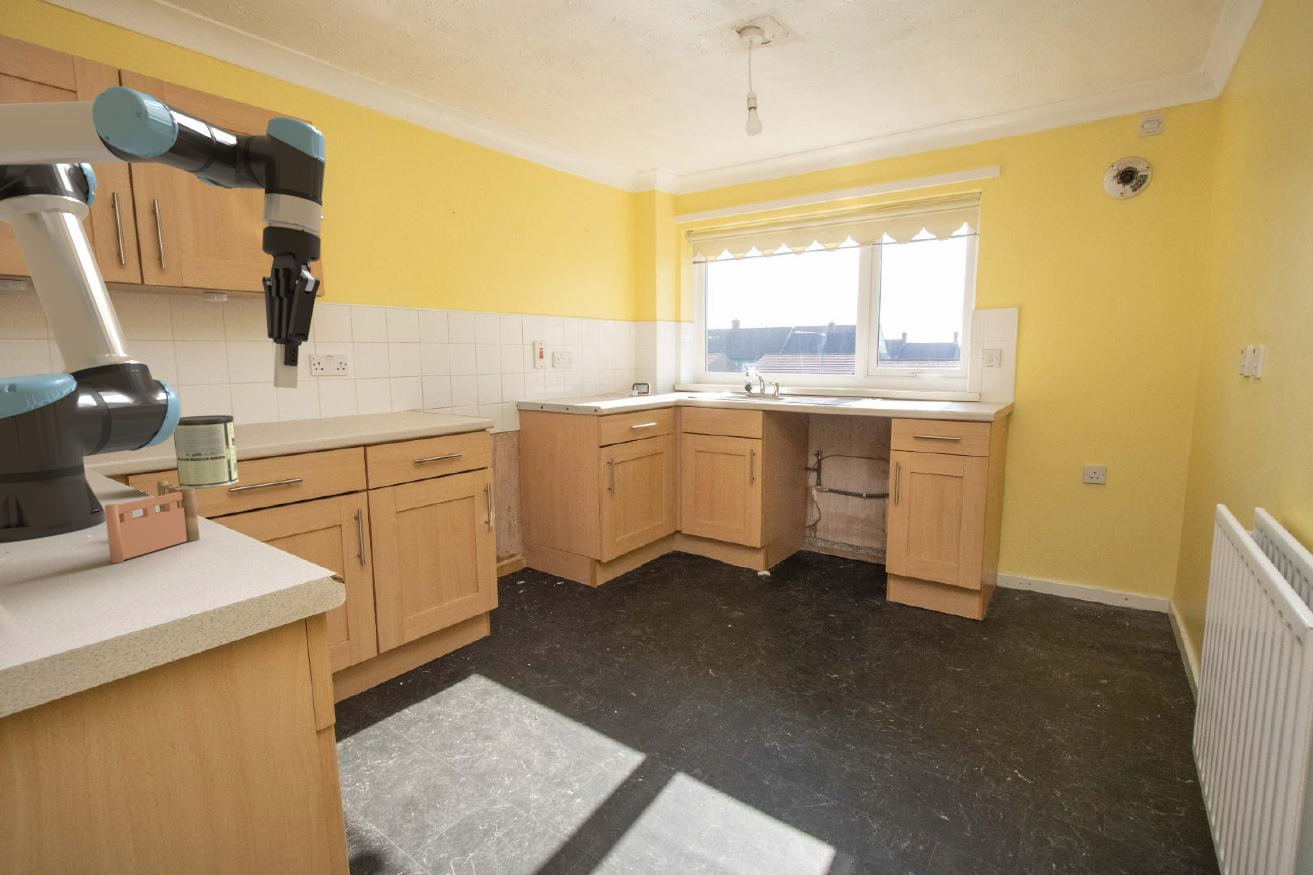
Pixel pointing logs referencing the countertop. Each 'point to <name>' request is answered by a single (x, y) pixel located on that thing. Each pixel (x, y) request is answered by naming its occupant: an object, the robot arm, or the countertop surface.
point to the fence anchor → (186, 503)
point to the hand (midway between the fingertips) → (285, 387)
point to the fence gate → (144, 526)
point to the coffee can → (205, 451)
